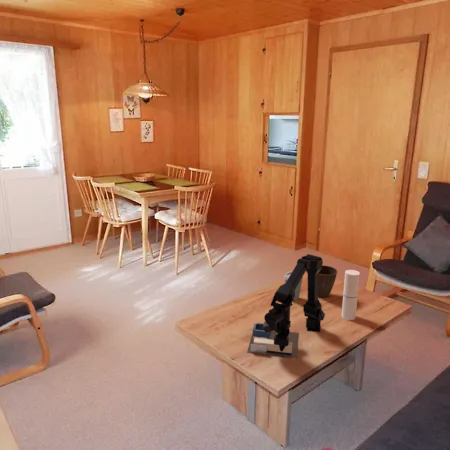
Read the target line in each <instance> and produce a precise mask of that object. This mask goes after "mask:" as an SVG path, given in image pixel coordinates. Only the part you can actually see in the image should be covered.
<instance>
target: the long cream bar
mask: <svg viewBox="0 0 450 450" xmlns="http://www.w3.org/2000/svg"><path fill="white" fill-rule="evenodd" d="M254 344H255V345H264V346H267V350H268V351H276V352H285V353H292V342H289V344H288V346H285V348H284V350H283V351H280V348H279V345H275V344H274V340H270V339H261V338H254Z"/></svg>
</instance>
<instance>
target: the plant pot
mask: <svg viewBox="0 0 450 450" xmlns="http://www.w3.org/2000/svg"><path fill="white" fill-rule="evenodd" d="M337 274H338V270H337V269H336V268H334V267H332V266H329V265H324V264H322V268H321V270H320V271H319V272H318V298H321V299H326V298H328V297H329V296H330V294H331V292H332V290H333V288H334V286H335V285H334V284H335V282H336V279H337Z"/></svg>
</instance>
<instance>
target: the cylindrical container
mask: <svg viewBox="0 0 450 450" xmlns="http://www.w3.org/2000/svg"><path fill="white" fill-rule="evenodd" d="M360 277H361V273H360V271H358V270H355V269H346V270H345V271H344V279H343V280H344V282H343V294H342V304H341V305H342V306H341V315H340V316H341V318H342V319H344V320H347V321H354V320H356V318H357V317H356V315H357V306H358V298H359V297H358V294H359V286H360Z"/></svg>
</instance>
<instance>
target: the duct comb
mask: <svg viewBox="0 0 450 450" xmlns="http://www.w3.org/2000/svg"><path fill="white" fill-rule="evenodd" d="M263 324H264V322H262V323H261V322H256V323H253V327H252V334H251V338H250V340H249V344H248V346H247V350H246V353H247V354H254V355H263V356H271V357H280V358H285V359H286V358H288V359H295V360H296V359H297V360H298V350H299V337H300V335H299V334H300V333H299V332H296V331H295V332H293V331H290V333H289V335H288V337H289V342H292V353H285V352H276V351H268V350H267V346H264V345H255V344H254V338H261V339H270V340H274V336H275V335H276V334H278V333H277V332H275V330H274V331H271V332H268V333H266V332H265V331H264V327H263Z"/></svg>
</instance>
